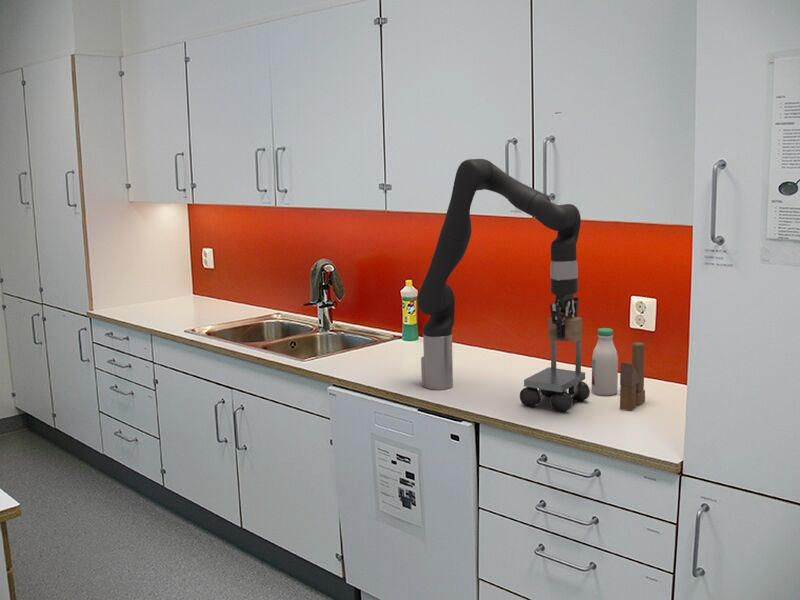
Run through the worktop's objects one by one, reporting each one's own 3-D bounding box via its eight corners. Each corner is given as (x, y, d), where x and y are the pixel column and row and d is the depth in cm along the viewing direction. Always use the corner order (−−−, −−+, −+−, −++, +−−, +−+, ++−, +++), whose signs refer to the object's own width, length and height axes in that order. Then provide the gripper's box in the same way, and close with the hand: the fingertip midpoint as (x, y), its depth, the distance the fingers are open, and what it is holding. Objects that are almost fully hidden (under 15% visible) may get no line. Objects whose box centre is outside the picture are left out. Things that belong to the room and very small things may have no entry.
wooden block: (619, 409, 245) (620, 348, 242) (633, 399, 254) (634, 341, 250) (631, 411, 243) (632, 350, 240) (645, 401, 251) (646, 342, 248)
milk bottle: (622, 392, 261) (623, 328, 258) (608, 397, 256) (609, 333, 253) (600, 387, 267) (601, 325, 263) (586, 393, 262) (587, 329, 258)
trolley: (518, 406, 250) (517, 329, 246) (542, 392, 263) (543, 319, 259) (568, 415, 241) (568, 335, 237) (591, 400, 254) (592, 324, 250)
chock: (548, 339, 240) (547, 318, 239) (556, 336, 244) (555, 315, 243) (574, 342, 235) (574, 320, 234) (582, 338, 239) (581, 317, 238)
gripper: (562, 272, 245) (564, 330, 247) (540, 279, 233) (541, 340, 236) (587, 273, 240) (588, 332, 243) (565, 280, 229) (566, 342, 232)
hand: (565, 335), depth 239 cm, fingers closed on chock, 5 cm apart
